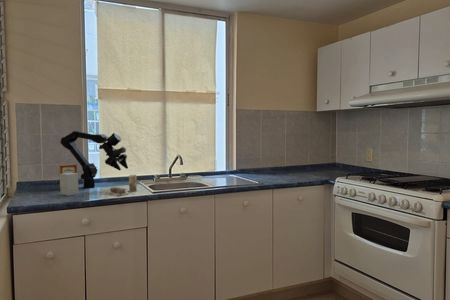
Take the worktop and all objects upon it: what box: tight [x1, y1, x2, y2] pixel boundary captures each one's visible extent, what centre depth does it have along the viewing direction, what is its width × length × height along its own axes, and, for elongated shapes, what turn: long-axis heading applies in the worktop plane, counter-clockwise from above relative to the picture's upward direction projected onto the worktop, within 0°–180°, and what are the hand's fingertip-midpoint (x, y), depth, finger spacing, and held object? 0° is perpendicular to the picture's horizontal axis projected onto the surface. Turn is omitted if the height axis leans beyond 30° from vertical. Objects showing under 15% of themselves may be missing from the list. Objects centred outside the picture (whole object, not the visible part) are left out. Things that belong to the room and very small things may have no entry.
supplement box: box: [59, 172, 80, 197], centre depth 204 cm, size 7×7×13 cm
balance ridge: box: [106, 186, 130, 197], centre depth 206 cm, size 11×8×4 cm
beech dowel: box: [128, 174, 138, 192], centre depth 217 cm, size 4×4×10 cm
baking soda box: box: [58, 163, 78, 190], centre depth 222 cm, size 10×6×16 cm
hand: (124, 169), depth 221 cm, fingers open, 9 cm apart
